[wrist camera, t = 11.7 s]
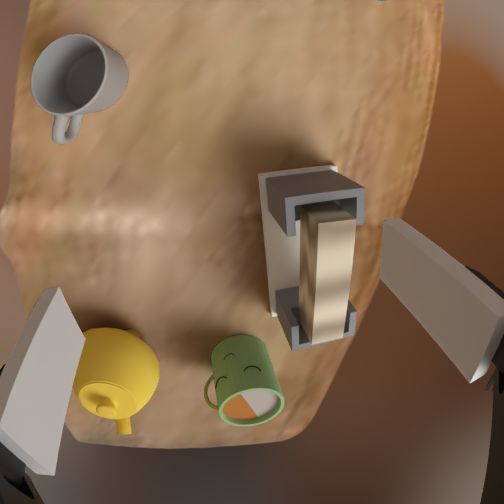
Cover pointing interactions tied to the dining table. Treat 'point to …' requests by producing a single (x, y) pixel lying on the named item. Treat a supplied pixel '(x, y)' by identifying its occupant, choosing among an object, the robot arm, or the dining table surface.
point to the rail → (325, 269)
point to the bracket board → (288, 236)
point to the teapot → (115, 374)
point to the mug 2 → (244, 382)
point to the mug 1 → (77, 81)
